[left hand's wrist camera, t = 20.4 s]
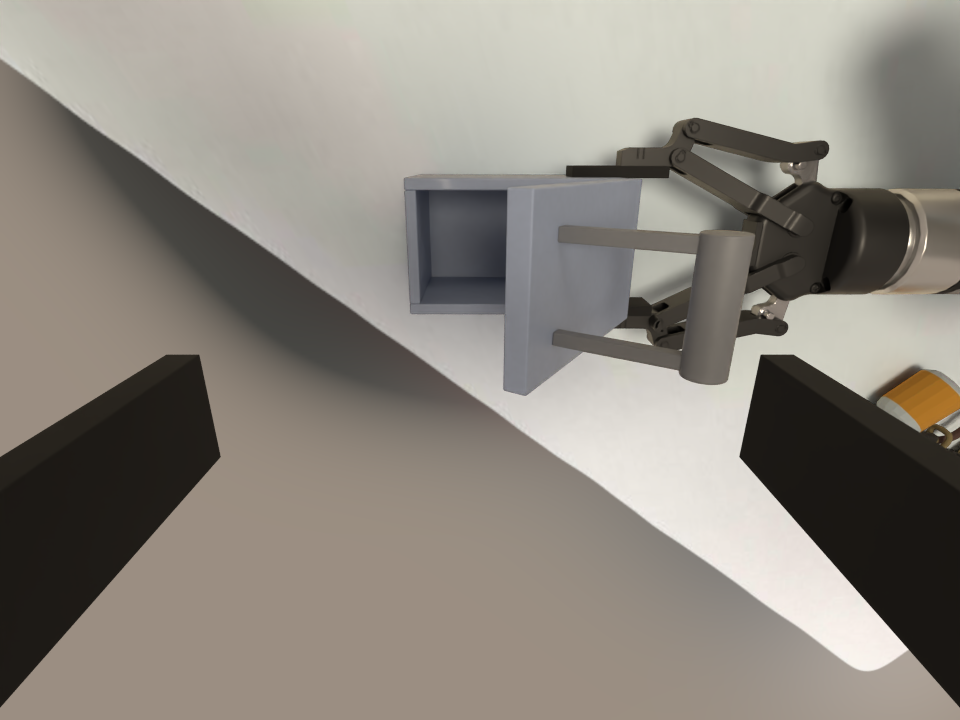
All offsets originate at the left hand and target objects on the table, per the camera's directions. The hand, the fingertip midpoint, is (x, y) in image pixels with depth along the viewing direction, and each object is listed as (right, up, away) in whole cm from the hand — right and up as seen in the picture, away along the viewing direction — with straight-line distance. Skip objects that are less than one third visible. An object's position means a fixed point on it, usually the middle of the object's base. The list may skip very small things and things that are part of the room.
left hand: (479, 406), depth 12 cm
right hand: (+6, +10, +25) cm, 28 cm away
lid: (+5, +6, +16) cm, 18 cm away
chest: (+2, +12, +31) cm, 33 cm away
